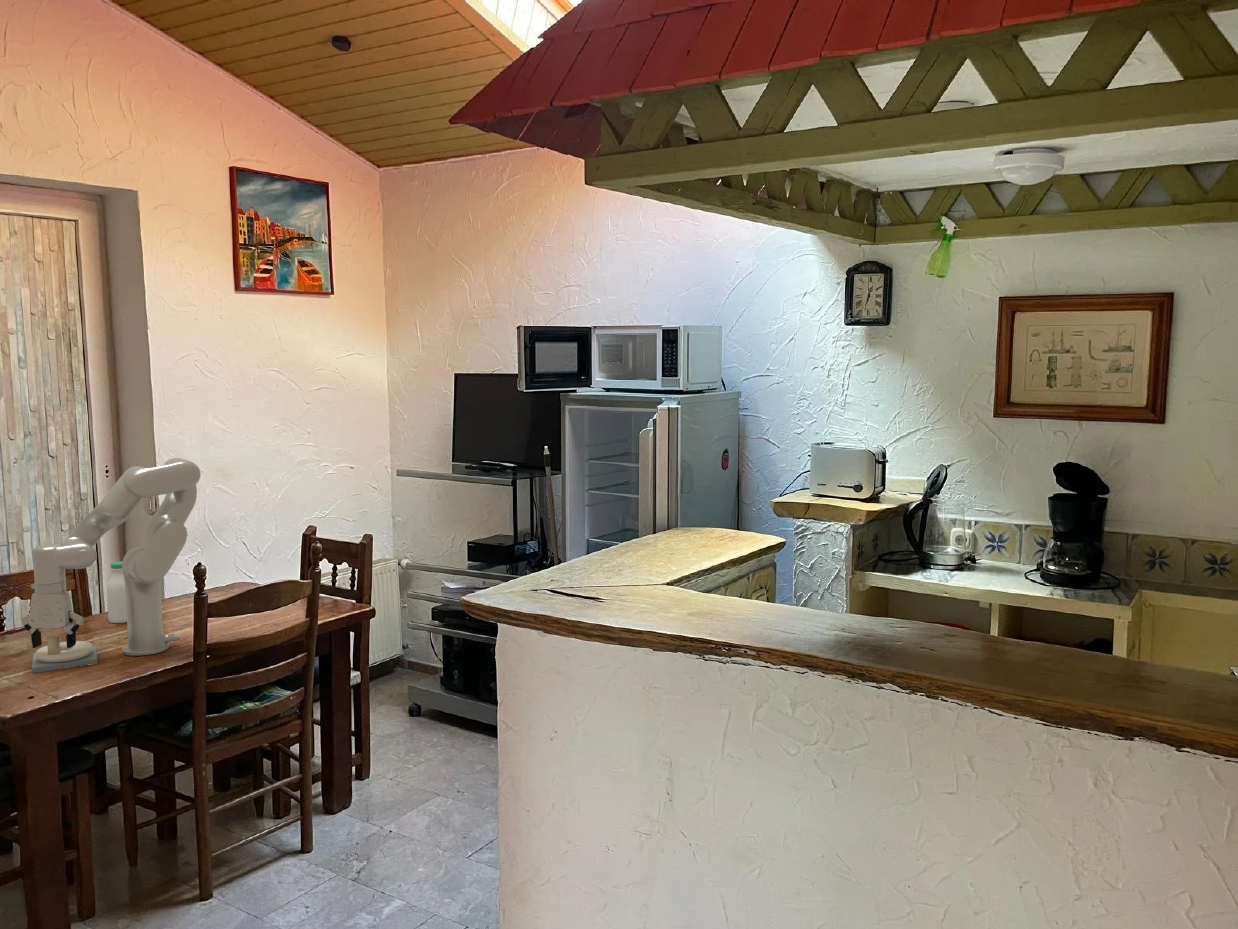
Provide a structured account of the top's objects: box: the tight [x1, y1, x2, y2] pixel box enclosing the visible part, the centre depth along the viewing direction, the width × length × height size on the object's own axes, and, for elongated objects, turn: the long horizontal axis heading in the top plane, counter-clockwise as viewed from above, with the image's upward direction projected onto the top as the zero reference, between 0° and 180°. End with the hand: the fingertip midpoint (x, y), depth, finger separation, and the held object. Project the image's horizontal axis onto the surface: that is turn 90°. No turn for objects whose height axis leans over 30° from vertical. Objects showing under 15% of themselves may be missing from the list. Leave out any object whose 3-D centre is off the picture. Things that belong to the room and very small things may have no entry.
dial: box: [36, 634, 93, 662], centre depth 267 cm, size 14×14×7 cm
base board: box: [31, 644, 99, 674], centre depth 268 cm, size 16×16×2 cm
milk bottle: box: [106, 561, 127, 624], centre depth 309 cm, size 8×8×20 cm
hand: (54, 646), depth 262 cm, fingers open, 9 cm apart
